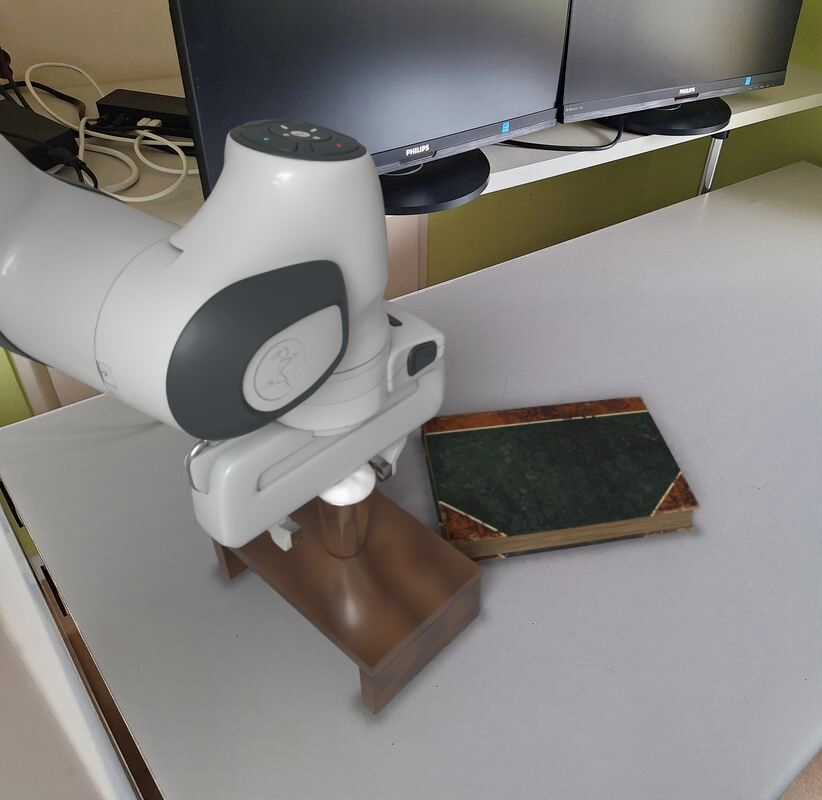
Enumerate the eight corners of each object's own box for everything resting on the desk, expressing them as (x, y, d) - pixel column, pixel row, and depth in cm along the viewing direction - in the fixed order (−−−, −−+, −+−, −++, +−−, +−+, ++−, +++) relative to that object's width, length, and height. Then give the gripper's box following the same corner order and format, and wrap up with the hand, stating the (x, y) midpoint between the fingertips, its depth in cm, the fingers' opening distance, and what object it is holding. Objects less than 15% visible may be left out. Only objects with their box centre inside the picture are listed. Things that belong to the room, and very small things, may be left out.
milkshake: (350, 504, 65) (350, 424, 58) (383, 548, 63) (387, 470, 56) (301, 527, 63) (295, 447, 56) (333, 574, 60) (331, 496, 53)
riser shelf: (375, 715, 59) (371, 668, 55) (220, 570, 68) (205, 519, 63) (478, 616, 67) (482, 567, 62) (327, 496, 75) (321, 446, 71)
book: (446, 568, 70) (693, 531, 76) (447, 543, 68) (702, 507, 74) (419, 438, 83) (634, 415, 89) (419, 413, 80) (639, 391, 86)
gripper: (212, 474, 42) (248, 615, 51) (462, 327, 55) (455, 460, 64) (148, 420, 45) (193, 563, 54) (401, 291, 58) (403, 424, 67)
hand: (337, 506), depth 59 cm, fingers open, 8 cm apart
